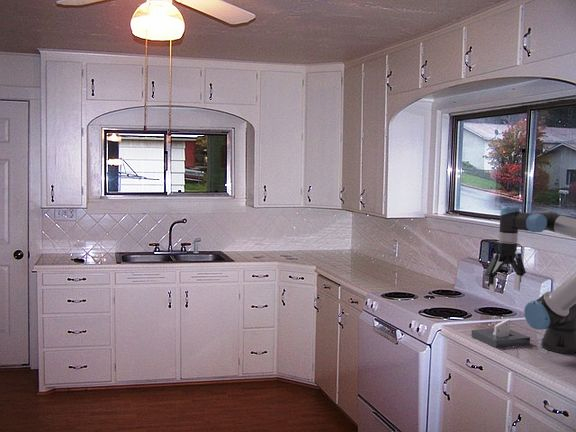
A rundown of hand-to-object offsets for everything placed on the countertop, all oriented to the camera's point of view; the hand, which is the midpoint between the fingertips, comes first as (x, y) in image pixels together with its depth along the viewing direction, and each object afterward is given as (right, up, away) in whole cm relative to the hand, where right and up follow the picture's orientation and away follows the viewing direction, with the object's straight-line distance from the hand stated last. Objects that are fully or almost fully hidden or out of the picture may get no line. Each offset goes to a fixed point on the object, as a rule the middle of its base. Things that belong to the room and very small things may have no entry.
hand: (504, 291), depth 265 cm
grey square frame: (-1, -22, +2) cm, 22 cm away
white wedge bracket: (-1, -22, +2) cm, 22 cm away
